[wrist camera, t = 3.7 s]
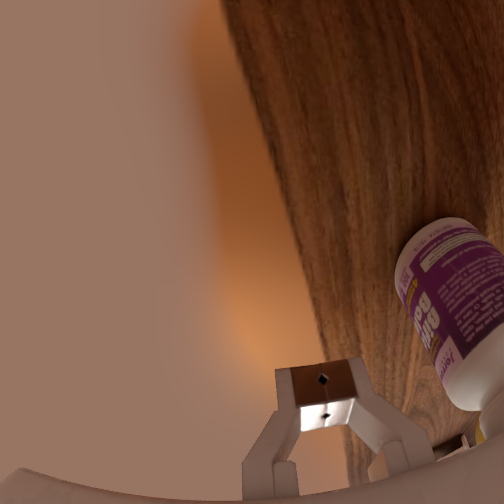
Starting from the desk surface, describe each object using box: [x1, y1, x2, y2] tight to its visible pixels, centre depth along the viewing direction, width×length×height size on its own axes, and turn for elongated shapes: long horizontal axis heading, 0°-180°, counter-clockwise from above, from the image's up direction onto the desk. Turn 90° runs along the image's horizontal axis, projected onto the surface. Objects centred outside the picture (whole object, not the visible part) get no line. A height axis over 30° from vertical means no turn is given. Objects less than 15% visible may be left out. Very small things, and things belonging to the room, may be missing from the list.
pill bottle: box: [395, 217, 504, 440], centre depth 10 cm, size 5×5×10 cm
